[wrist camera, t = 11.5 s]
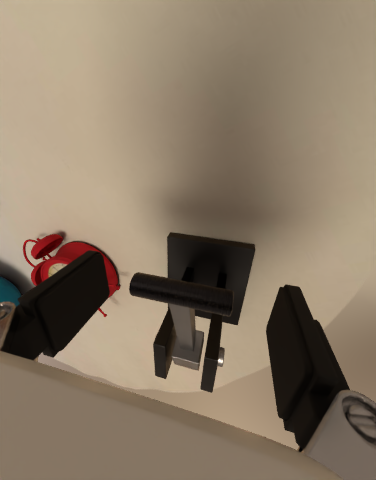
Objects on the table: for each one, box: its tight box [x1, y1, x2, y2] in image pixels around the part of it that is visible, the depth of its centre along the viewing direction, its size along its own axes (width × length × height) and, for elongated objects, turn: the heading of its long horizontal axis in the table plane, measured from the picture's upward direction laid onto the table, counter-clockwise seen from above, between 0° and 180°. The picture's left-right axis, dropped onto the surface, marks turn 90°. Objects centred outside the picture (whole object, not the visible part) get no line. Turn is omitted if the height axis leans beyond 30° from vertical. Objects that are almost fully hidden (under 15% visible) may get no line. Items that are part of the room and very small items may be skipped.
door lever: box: [129, 272, 234, 370], centre depth 13 cm, size 12×5×2 cm, turn 178°
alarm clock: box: [23, 234, 121, 317], centre depth 28 cm, size 10×6×15 cm
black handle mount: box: [153, 233, 255, 392], centre depth 20 cm, size 12×10×12 cm
